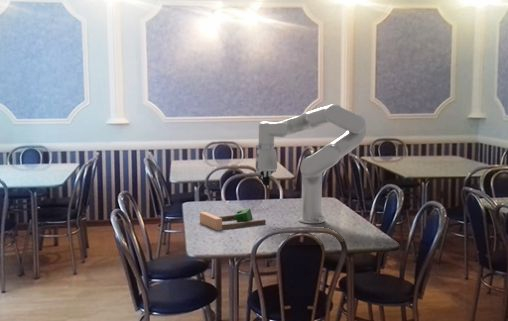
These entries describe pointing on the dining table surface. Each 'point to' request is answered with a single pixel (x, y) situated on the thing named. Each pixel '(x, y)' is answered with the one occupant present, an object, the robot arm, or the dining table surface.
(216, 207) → the dining table surface
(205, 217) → the end stop
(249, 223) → the guide rails
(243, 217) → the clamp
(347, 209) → the dining table surface
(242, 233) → the dining table surface
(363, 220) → the dining table surface
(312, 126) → the robot arm
